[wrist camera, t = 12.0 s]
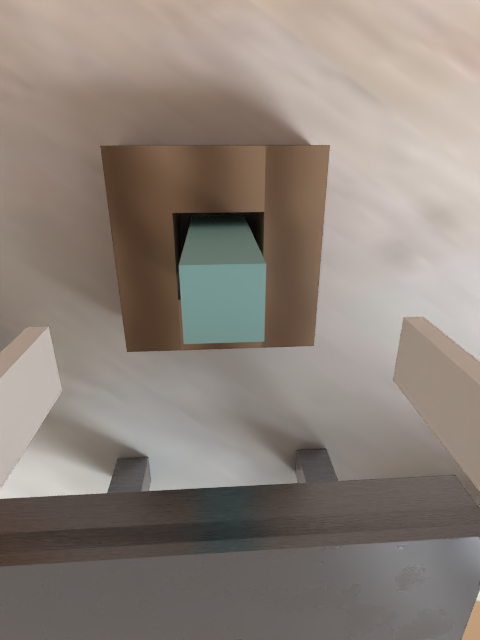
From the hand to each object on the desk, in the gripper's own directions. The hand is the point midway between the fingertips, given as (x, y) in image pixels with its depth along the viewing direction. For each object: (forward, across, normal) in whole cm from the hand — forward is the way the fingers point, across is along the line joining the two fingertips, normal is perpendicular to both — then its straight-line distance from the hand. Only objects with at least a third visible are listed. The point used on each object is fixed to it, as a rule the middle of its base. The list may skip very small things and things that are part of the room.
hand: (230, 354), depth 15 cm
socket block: (+18, 0, 0) cm, 19 cm away
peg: (+18, 0, 0) cm, 19 cm away
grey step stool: (+19, 0, +17) cm, 25 cm away
